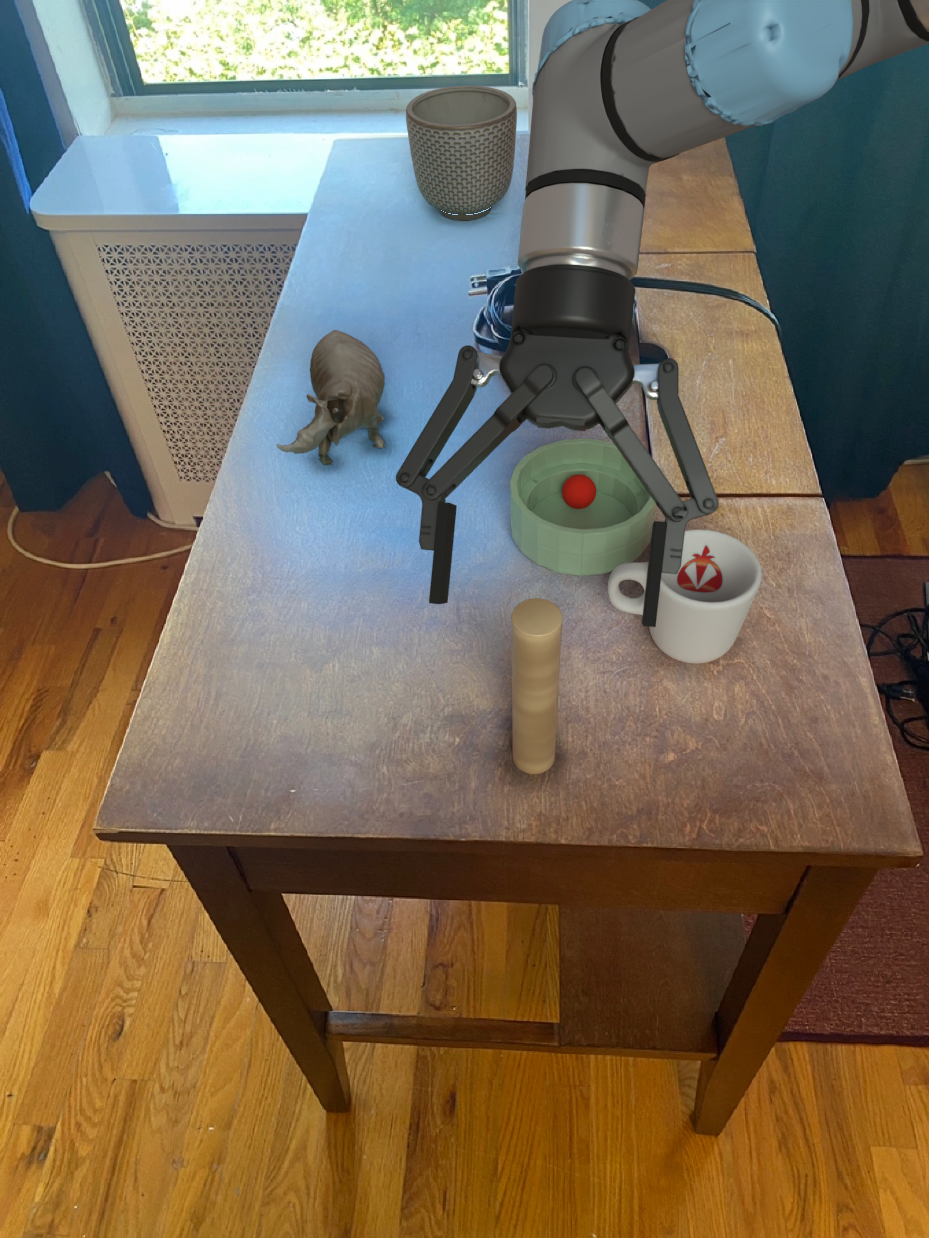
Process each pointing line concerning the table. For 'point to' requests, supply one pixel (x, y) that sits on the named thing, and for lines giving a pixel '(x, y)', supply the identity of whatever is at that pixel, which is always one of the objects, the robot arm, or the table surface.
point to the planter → (462, 148)
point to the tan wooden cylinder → (535, 683)
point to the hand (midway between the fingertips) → (541, 614)
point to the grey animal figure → (341, 395)
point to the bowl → (579, 535)
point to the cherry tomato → (579, 491)
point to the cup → (697, 596)
